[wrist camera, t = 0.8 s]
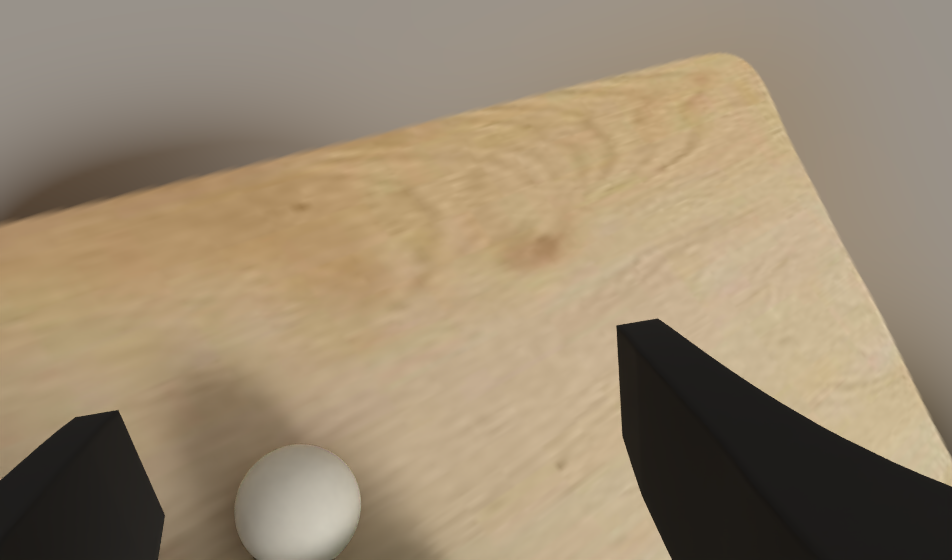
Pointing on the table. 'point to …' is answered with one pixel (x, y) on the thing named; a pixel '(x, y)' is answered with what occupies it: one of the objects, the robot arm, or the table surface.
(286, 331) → the table surface
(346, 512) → the off-white sphere
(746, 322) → the table surface
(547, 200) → the table surface
